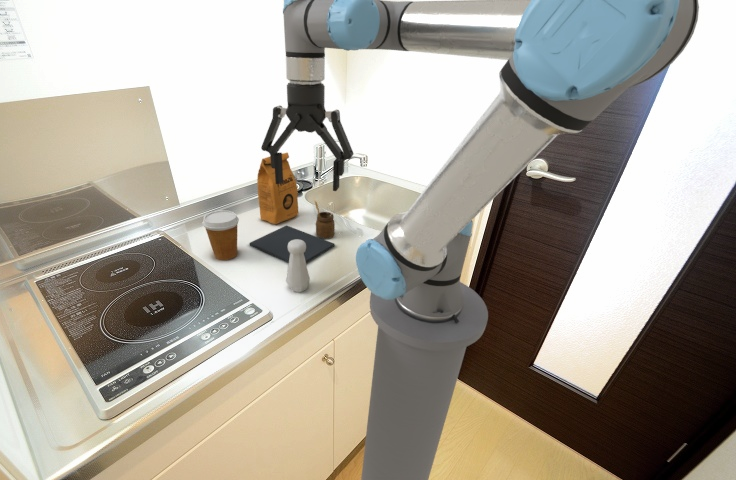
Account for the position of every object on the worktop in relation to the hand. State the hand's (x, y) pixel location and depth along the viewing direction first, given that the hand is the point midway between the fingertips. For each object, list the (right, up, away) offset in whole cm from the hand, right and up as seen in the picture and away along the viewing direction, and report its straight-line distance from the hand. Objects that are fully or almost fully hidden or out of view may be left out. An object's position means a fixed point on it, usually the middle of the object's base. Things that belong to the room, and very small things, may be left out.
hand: (307, 185), depth 83 cm
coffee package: (-13, -2, +44) cm, 46 cm away
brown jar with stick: (+3, -9, +34) cm, 35 cm away
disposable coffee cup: (-25, -15, +22) cm, 37 cm away
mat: (-7, -12, +27) cm, 31 cm away
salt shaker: (-3, -24, +9) cm, 26 cm away
